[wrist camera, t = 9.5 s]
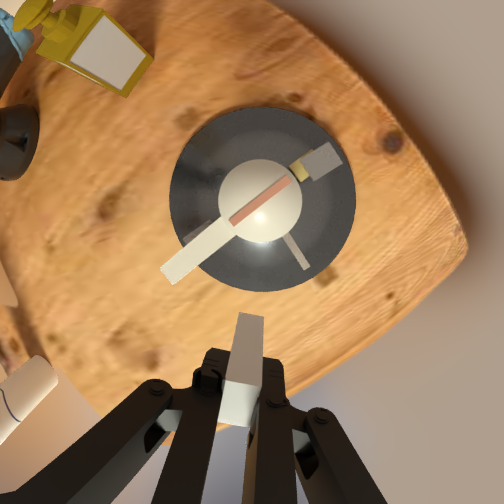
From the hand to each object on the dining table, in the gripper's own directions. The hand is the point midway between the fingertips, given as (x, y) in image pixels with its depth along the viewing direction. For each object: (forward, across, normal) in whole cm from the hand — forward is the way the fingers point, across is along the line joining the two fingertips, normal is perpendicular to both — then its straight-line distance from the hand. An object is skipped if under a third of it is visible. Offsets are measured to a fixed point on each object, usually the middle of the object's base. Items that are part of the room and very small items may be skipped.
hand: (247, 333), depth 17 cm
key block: (+19, -2, +6) cm, 20 cm away
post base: (+20, -1, +8) cm, 22 cm away
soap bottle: (+21, -24, +26) cm, 42 cm away
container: (+21, -42, -37) cm, 60 cm away
